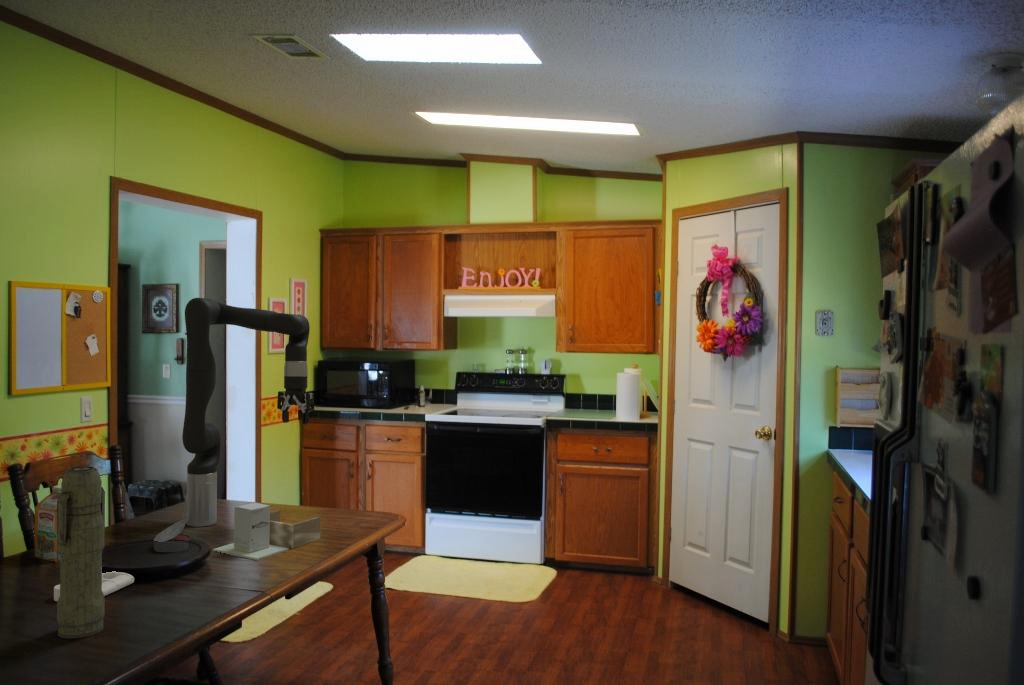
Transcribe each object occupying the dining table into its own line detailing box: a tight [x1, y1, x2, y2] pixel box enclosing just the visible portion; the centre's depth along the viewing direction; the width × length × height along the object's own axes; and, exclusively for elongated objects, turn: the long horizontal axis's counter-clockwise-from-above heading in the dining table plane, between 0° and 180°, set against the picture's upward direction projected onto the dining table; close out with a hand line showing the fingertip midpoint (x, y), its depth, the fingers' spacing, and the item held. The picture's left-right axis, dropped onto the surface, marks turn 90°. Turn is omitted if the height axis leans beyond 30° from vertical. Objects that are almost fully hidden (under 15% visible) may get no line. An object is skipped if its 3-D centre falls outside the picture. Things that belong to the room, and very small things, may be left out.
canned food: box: [153, 518, 191, 542], centre depth 227 cm, size 11×10×10 cm
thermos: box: [56, 465, 106, 640], centre depth 164 cm, size 9×12×35 cm
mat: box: [212, 542, 289, 561], centre depth 226 cm, size 18×12×1 cm, turn 62°
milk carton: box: [34, 486, 61, 563], centre depth 219 cm, size 11×11×19 cm
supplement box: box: [233, 502, 271, 553], centre depth 226 cm, size 7×7×13 cm
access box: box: [269, 509, 321, 550], centre depth 237 cm, size 18×12×7 cm, turn 62°
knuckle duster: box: [53, 571, 135, 602], centre depth 190 cm, size 3×18×15 cm
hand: (295, 423), depth 254 cm, fingers open, 8 cm apart
